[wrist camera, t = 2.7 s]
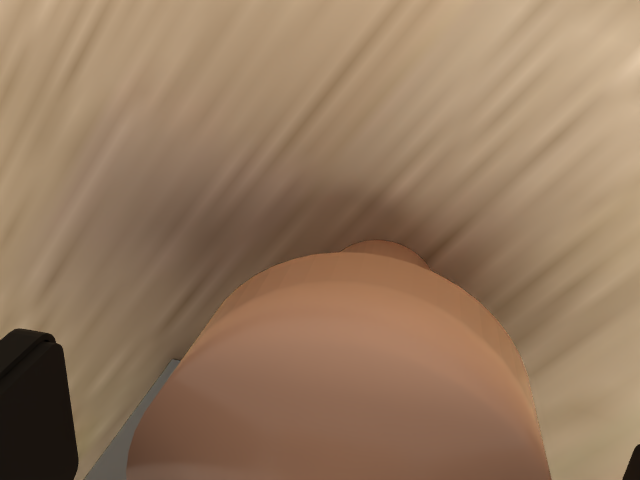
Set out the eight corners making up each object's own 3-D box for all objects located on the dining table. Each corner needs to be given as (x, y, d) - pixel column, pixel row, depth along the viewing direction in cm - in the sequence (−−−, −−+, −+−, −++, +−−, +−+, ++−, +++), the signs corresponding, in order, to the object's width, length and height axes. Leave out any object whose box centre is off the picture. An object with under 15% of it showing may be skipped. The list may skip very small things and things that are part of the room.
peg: (504, 398, 17) (551, 699, 10) (276, 390, 18) (169, 648, 11) (508, 169, 15) (575, 343, 7) (245, 180, 16) (82, 336, 9)
